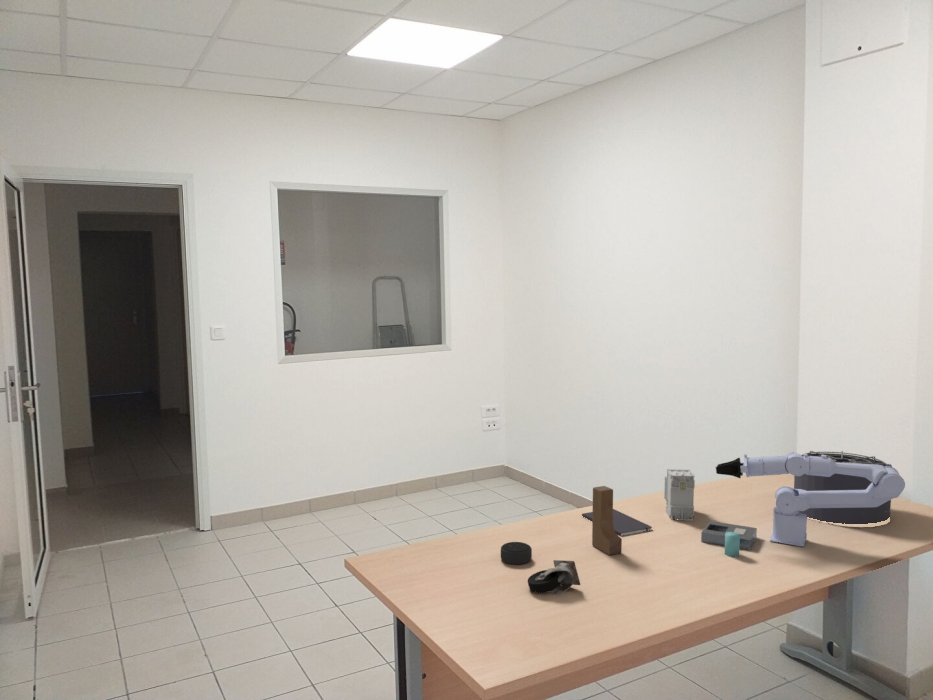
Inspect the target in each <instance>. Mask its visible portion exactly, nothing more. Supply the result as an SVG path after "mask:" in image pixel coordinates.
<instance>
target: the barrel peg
mask: <svg viewBox="0 0 933 700" xmlns="http://www.w3.org/2000/svg"><path fill="white" fill-rule="evenodd" d="M739 546H740V534H738V533H735V532H726V533H725V546H724V555H725V556H727V557H730V556H731V558H736V557H735V556H738V557H739V556H740V548H739Z"/></svg>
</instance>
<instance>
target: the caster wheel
mask: <svg viewBox="0 0 933 700" xmlns="http://www.w3.org/2000/svg"><path fill="white" fill-rule="evenodd" d="M553 565H554V567H550V568H548V569H545V570H544V569H543V570H540V571H537V572H535V573H533V574H531V575H530V576H529V577H528V578H527V584H528V588H529V590H530V592H531V593H534V594H545V593H550V594H553V595H561V594H564V593H565V592H566V591H569V589H570V588H571V587H573V586H581V580H580V578H579V577H580V576H579V574H578V570H577V566H576V562H575V561H574V560H558V559H557V560H556V559H554V560H553Z"/></svg>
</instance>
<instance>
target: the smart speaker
mask: <svg viewBox="0 0 933 700" xmlns="http://www.w3.org/2000/svg"><path fill="white" fill-rule="evenodd" d="M532 553H533V552H532V546H531V545H529V544H528V543H525V542H523V541H522V542H521V541H510V542H506V543H503V544H502V545H501V547H500V559H501V560H502V561H503V562H504V563H506V564H510V565H524V564H527V563H529V562H530V561H531V560H532V557H533V555H532Z"/></svg>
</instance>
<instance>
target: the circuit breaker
mask: <svg viewBox="0 0 933 700" xmlns="http://www.w3.org/2000/svg"><path fill="white" fill-rule="evenodd" d="M695 477H696V476H695V474H694V473H693V472H692V470H691V469H670V468H669V469H666V476H664V497H663V498H664V499H665V502H666V503H665V504H666V511H665V512H666V514H667V516H668V519H676V520H675V521H694V516H695V506H694V504H695V503H694V499H695V498H694V497H695V495H694V493H695V491H694V490H695V483H696V482H695V481H696V480H695ZM677 519H678V520H677Z"/></svg>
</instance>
